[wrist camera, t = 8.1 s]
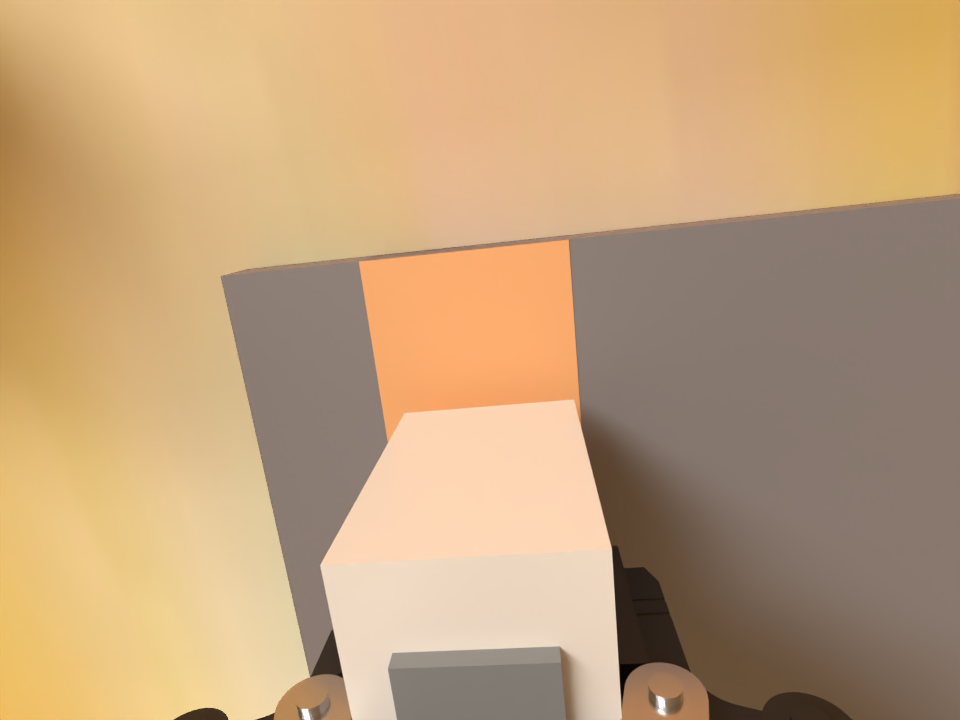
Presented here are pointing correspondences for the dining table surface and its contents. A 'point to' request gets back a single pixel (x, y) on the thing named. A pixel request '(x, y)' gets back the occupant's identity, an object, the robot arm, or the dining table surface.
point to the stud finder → (478, 573)
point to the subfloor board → (670, 423)
